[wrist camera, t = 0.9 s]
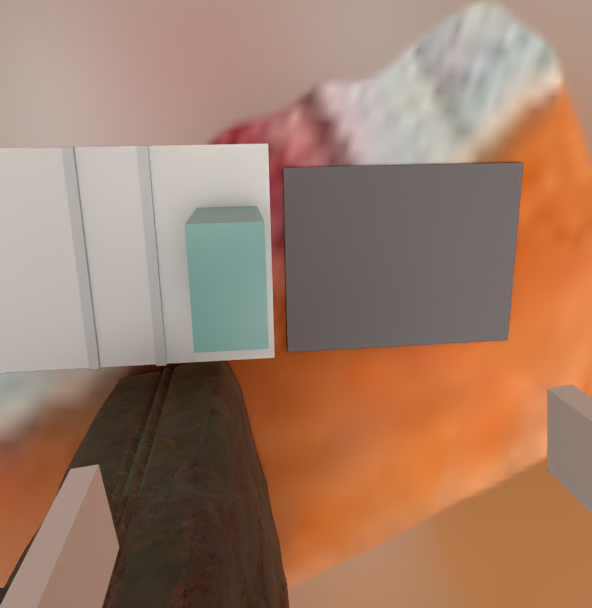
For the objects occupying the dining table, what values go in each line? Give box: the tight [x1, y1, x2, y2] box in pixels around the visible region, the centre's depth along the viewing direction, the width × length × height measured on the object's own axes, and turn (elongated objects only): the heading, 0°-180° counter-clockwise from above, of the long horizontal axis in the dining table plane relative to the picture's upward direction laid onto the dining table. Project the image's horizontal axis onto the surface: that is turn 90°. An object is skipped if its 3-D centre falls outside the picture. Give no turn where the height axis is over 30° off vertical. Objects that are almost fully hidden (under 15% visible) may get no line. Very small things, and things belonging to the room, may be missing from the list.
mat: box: [283, 163, 523, 352], centre depth 42 cm, size 18×14×1 cm
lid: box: [0, 144, 275, 373], centre depth 29 cm, size 17×13×9 cm
